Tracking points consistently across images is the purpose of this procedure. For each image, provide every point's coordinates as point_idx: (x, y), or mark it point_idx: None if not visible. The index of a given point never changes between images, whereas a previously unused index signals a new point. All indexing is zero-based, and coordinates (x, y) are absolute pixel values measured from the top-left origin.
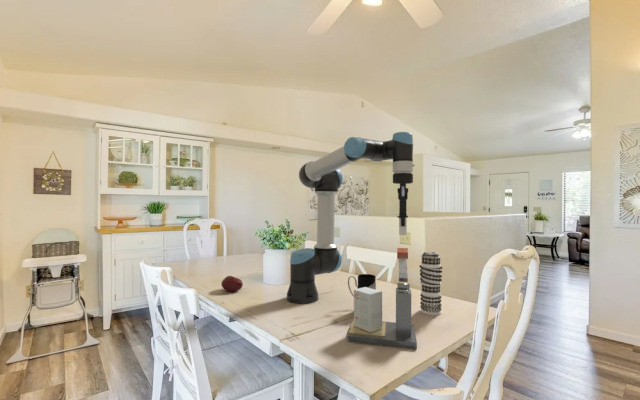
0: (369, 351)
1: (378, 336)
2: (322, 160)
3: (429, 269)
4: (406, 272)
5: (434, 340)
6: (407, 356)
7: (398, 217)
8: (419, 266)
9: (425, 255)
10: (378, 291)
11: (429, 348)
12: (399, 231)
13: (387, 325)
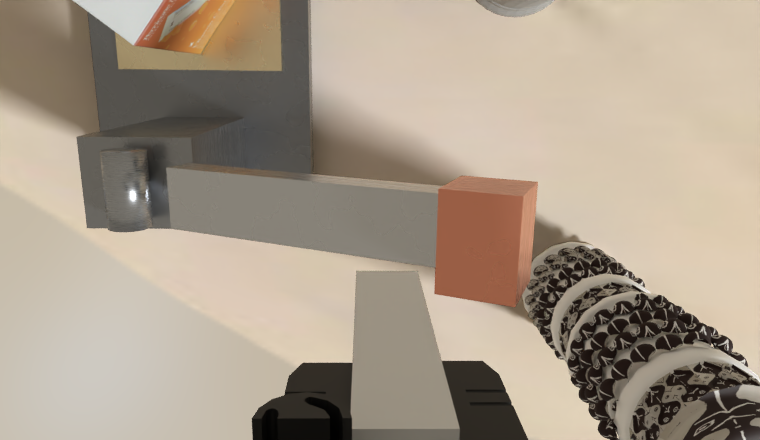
0: (32, 7)
1: (117, 40)
2: None
3: (610, 391)
4: (226, 230)
5: (223, 266)
6: (44, 157)
7: (284, 419)
8: (692, 332)
9: (701, 426)
10: (118, 21)
11: (142, 241)
12: (356, 294)
13: (262, 78)
